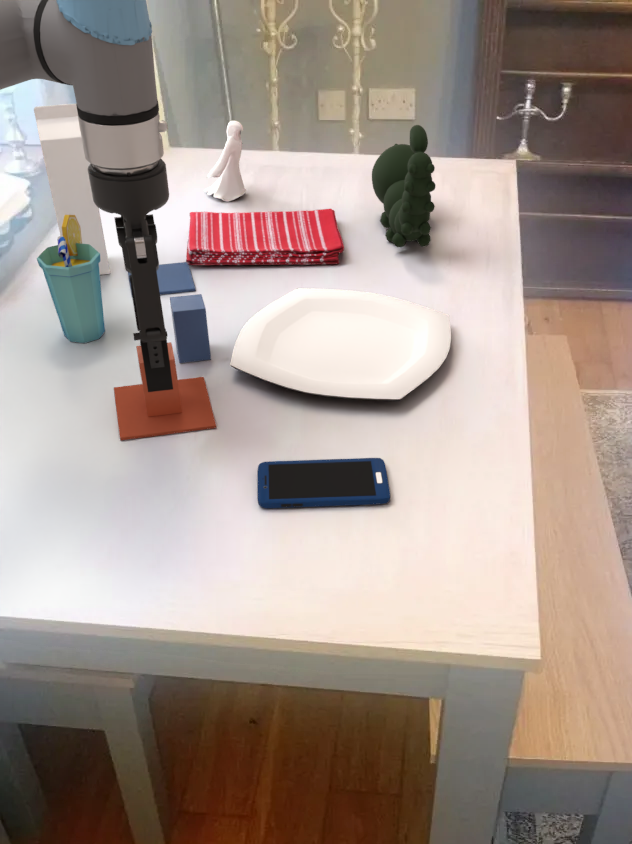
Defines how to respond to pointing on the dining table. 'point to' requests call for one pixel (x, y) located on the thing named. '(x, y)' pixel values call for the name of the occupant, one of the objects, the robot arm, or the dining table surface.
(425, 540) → the dining table surface
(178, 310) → the blue block
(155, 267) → the robot arm
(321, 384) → the plate
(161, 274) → the blue mat
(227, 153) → the figurine
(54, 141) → the milk
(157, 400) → the terracotta block
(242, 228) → the dish towel
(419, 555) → the dining table surface
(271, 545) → the dining table surface
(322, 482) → the cell phone
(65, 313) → the cup
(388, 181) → the toy figurine
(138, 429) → the terracotta mat
